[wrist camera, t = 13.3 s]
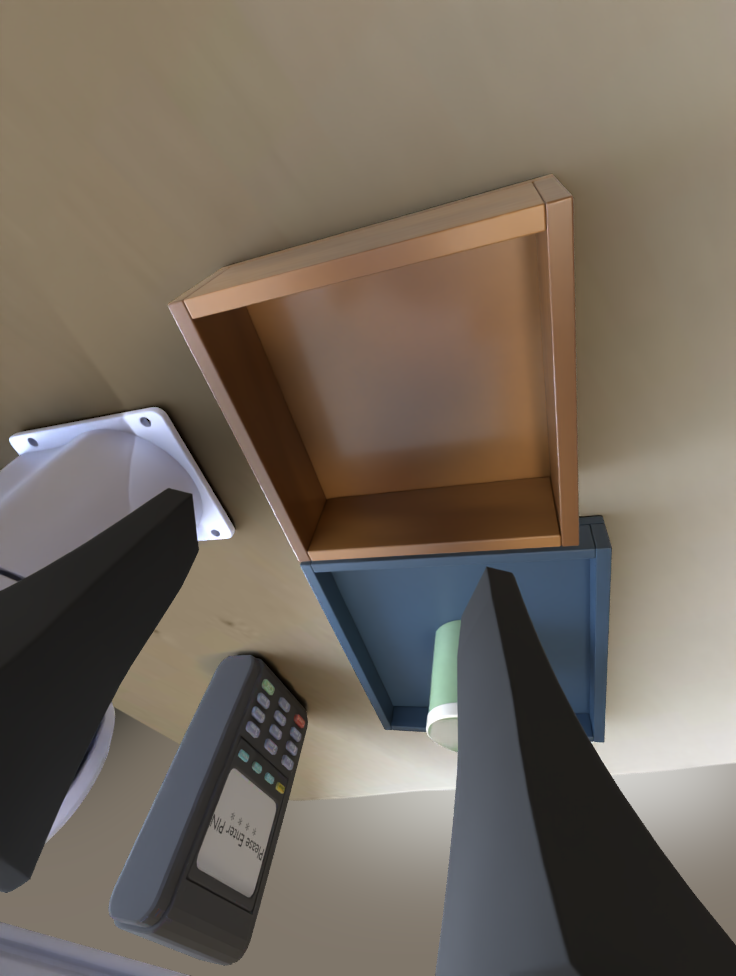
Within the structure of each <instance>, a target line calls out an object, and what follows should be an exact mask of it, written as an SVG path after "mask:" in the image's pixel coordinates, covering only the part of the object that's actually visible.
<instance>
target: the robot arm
mask: <svg viewBox="0 0 736 976" xmlns="http://www.w3.org/2000/svg"><path fill="white" fill-rule="evenodd" d="M145 417H146V418H148V419H149V420H150V421H151V422H149V421H147V419H146V418H145ZM9 441H10V444H11V445H12V447H13V448H14V449H15V450H16V451H17V452H18V454H19V455H20V456H18V457H17V458H16V459H14V460H13V461H12V462H11V463H9V464H8V465H7V466H5V467H4V468H3V469H2V470H0V891H1V892H5V893H8V892H10V891H13V890H14V889H16V888H18V887H19V886H21V885H22V884H24V883H25V882H27V881H28V880H29V879H30V878H31V876H32V873H33V871H34V868H35V865H36V863H37V861H38V858H39V856H40V854H41V851H42V849H43V847H44V844H45V843H46V842H47V841H48V840H49V839H50V838H51V837H52V836H54V834H56V833H57V832H58V830H59V829H60V828H61V827H62V826H63V825H64V824H65V823H66V822H67V821H68V819H69V818H70V817H71V816H72V815H73V813H74V812H75V811H76V810H77V808H78V807H79V805H80V804H81V803H82V801H83V800H84V798H85V797H86V795H87V794H88V792H89V791H90V789H91V787H92V786H93V784H94V782H95V781H96V779H97V777H98V775H99V773H100V771H101V769H102V767H103V764H104V762H105V759H106V757H107V754H108V751H109V747H110V743H111V738H112V734H113V731H114V723H115V710H114V706H113V704H112V702H111V701H112V699H113V697H114V695H115V694H116V692H117V690H118V688H119V686H120V684H121V682H122V680H123V679H124V677H125V675H126V674H127V672H128V670H129V669H130V667H131V665H132V664H133V662H134V661H135V659H136V657H137V656H138V654H139V653H140V651H141V650H142V648H143V647H144V645H145V643H146V642H147V640H148V639H149V637H150V636H151V634H152V633H153V631H154V629H155V628H156V626H157V625H158V623H159V622H160V620H161V619H162V617H163V615H164V614H165V612H166V611H167V609H168V608H169V606H170V604H171V603H172V601H173V600H174V598H175V597H176V595H177V593H178V592H179V590H180V588H181V587H182V585H183V583H184V581H185V579H186V577H187V575H188V573H189V571H190V568H191V566H192V564H193V562H194V560H195V558H196V555H197V553H198V551H199V547H198V541H201V540H213V539H226V538H231V537H232V536H233V534H234V532H235V528H234V526H233V524H232V523H231V521H230V519H229V518H228V516H227V514H226V513H225V511H224V509H223V508H222V506H221V504H220V502H219V501H218V499H217V497H216V496H215V494H214V492H213V491H212V489H211V487H210V486H209V484H208V482H207V481H206V479H205V477H204V476H203V474H202V472H201V470H200V469H199V467H198V465H197V464H196V462H195V460H194V459H193V457H192V455H191V454H190V452H189V450H188V449H187V447H186V445H185V443H184V442H183V440H182V438H181V437H180V435H179V433H178V432H177V430H176V428H175V427H174V425H173V423H172V422H171V420H170V418H169V417H168V415H167V414H166V412H165V411H163V410H162V409H160V408H158V407H150V408H145V409H140V410H135V411H129V412H124V413H119V414H113V415H108V416H103V417H97V418H92V419H87V420H82V421H76V422H71V423H66V424H60V425H55V426H50V427H44V428H39V429H34V430H29V431H23V432H18V433H15V434H14V435H12V436H11V437H10V438H9ZM457 711H458V764H457V781H456V794H455V807H454V817H453V828H452V838H451V848H450V859H449V868H448V877H447V886H446V894H445V903H444V913H443V920H442V928H441V936H440V943H439V951H438V959H437V966H436V974H435V976H736V945H735V944H734V942H733V941H732V940H731V939H730V938H729V936H728V935H727V934H726V933H725V931H724V930H723V929H722V928H721V926H720V925H719V924H718V923H717V922H716V920H715V919H714V918H713V916H712V915H711V914H710V913H709V912H708V910H707V909H706V908H705V907H704V905H703V904H702V903H701V902H700V900H699V899H698V898H697V897H696V896H695V894H694V893H693V892H692V890H691V889H690V888H689V886H688V885H687V884H686V882H685V881H684V880H683V878H682V877H681V876H680V874H679V873H678V872H677V870H676V869H675V868H674V867H673V865H672V863H671V862H670V861H669V859H668V858H667V857H666V856H665V854H664V853H663V851H662V850H661V849H660V847H659V846H658V845H657V843H656V841H655V840H654V839H653V837H652V836H651V834H650V833H649V831H648V830H647V829H646V827H645V825H644V824H643V823H642V821H641V820H640V818H639V817H638V815H637V814H636V812H635V811H634V810H633V808H632V807H631V805H630V804H629V802H628V801H627V799H626V798H625V796H624V795H623V793H622V792H621V791H620V789H619V787H618V786H617V784H616V783H615V781H614V779H613V778H612V776H611V775H610V773H609V771H608V770H607V768H606V767H605V765H604V763H603V762H602V760H601V759H600V757H599V755H598V753H597V752H596V750H595V748H594V747H593V745H592V743H591V742H590V740H589V738H588V736H587V735H586V733H585V731H584V729H583V728H582V726H581V724H580V722H579V720H578V718H577V717H576V715H575V713H574V711H573V709H572V707H571V705H570V703H569V701H568V699H567V697H566V695H565V693H564V692H563V690H562V688H561V686H560V684H559V681H558V679H557V677H556V675H555V673H554V671H553V669H552V667H551V665H550V662H549V660H548V658H547V656H546V653H545V651H544V649H543V647H542V645H541V642H540V640H539V638H538V635H537V633H536V631H535V628H534V626H533V623H532V621H531V618H530V616H529V613H528V611H527V608H526V606H525V603H524V600H523V598H522V595H521V592H520V590H519V587H518V584H517V581H516V579H515V576H514V575H513V573H511V572H507V571H503V570H499V569H495V568H491V567H486V569H485V571H484V573H483V575H482V577H481V579H480V581H479V583H478V585H477V587H476V589H475V591H474V592H473V594H472V596H471V598H470V600H469V602H468V604H467V606H466V608H465V610H464V612H463V614H462V617H461V626H460V634H459V644H458V654H457ZM0 976H190V975H187V974H183V973H179V972H176V971H172V970H169V969H165V968H162V967H158V966H155V965H151V964H148V963H144V962H140V961H137V960H133V959H130V958H126V957H122V956H119V955H116V954H112V953H109V952H105V951H102V950H98V949H95V948H91V947H87V946H84V945H80V944H77V943H73V942H69V941H66V940H63V939H59V938H56V937H52V936H48V935H45V934H41V933H38V932H34V931H31V930H27V929H24V928H20V927H17V926H13V925H10V924H6V923H2V922H0Z"/></svg>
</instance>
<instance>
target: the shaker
mask: <svg viewBox="0 0 736 976" xmlns="http://www.w3.org/2000/svg"><path fill="white" fill-rule="evenodd" d="M460 626H461V620H455V621H451V622H448V623H446V624H444V625H442V626H441V627H440V628H438V630H437V631H436V633H435V638H434V650H433V662H432V674H431V686H430V698H429V710H428V715H427V722H426V732H427V734H428V736H429V738H430V739H431V740H432V741H434V742H435V743H436V744H438V745H440V746H442V747H444V748H446V749H449V750H452V751H455V752H458V711H457V654H458V644H459V634H460Z"/></svg>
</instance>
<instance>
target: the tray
mask: <svg viewBox="0 0 736 976" xmlns="http://www.w3.org/2000/svg"><path fill="white" fill-rule="evenodd" d="M611 557H612V547H611V543H610V540H609V537H608V533H607V530H606V526H605V523H604V520H603V517H602V516H595V517H582V518H579V545H578V546H562V545H561V546H558V547H541V548H524V549H507V550H490V551H473V552H456V553H439V554H422V555H405V556H388V557H371V558H354V559H337V560H320V561H312V560H311V561H303V562H301V564H300V566H301V568H302V570H303V572H304V574H305V576H306V578H307V580H308V582H309V584H310V586H311V588H312V590H313V592H314V594H315V595H316V597H317V599H318V601H319V603H320V605H321V607H322V609H323V611H324V613H325V615H326V617H327V619H328V621H329V623H330V625H331V626H332V628H333V630H334V632H335V634H336V636H337V638H338V640H339V642H340V644H341V646H342V648H343V650H344V652H345V654H346V656H347V657H348V659H349V661H350V663H351V665H352V667H353V669H354V671H355V673H356V675H357V677H358V679H359V681H360V683H361V685H362V687H363V688H364V690H365V692H366V694H367V696H368V698H369V700H370V702H371V704H372V706H373V708H374V710H375V712H376V714H377V716H378V717H379V719H380V721H381V723H382V725H383V727H384V729H385V730H392V729H393V730H400V731H417V732H426V722H427V715H428V710H429V698H430V686H431V674H432V662H433V650H434V638H435V633H436V631H437V630H438V628H440V627H441V626H442V625H444V624H446V623H448V622H451V621H455V620H461V617H462V614H463V612H464V610H465V608H466V606H467V604H468V602H469V600H470V598H471V596H472V594H473V592H474V591H475V589H476V587H477V585H478V583H479V581H480V579H481V577H482V575H483V573H484V571H485V569H486V567H491V568H495V569H499V570H503V571H507V572H511V573H513V575H514V576H515V579H516V581H517V584H518V587H519V590H520V592H521V595H522V598H523V600H524V603H525V606H526V608H527V611H528V613H529V616H530V618H531V621H532V623H533V626H534V628H535V631H536V633H537V635H538V638H539V640H540V642H541V645H542V647H543V649H544V651H545V653H546V656H547V658H548V660H549V662H550V665H551V667H552V669H553V671H554V673H555V675H556V677H557V679H558V681H559V684H560V686H561V688H562V690H563V692H564V693H565V695H566V697H567V699H568V701H569V703H570V705H571V707H572V709H573V711H574V713H575V715H576V717H577V718H578V720H579V722H580V724H581V726H582V728H583V729H584V731H585V733H586V735H587V736H588V738H589V740H590V741H591V742H593V741H594V742H604V736H605V710H606V685H607V659H608V634H609V608H610V582H611Z"/></svg>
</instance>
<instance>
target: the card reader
mask: <svg viewBox="0 0 736 976" xmlns="http://www.w3.org/2000/svg"><path fill="white" fill-rule="evenodd" d="M307 725H308V720H307V713H306V710H305V708H304V707H303V706H302V705H301V704H300V703H299V702H298V700H297V699H296V698H295V697H294V696H293V695H292V694H291V693H290V691H289V690H288V689H287V688H286V687H285V686H284V685H283V683H282V682H281V681H280V680H279V679H278V678H277V677H276V676H275V674H274V673H273V672H272V671H271V670H270V669H269V668H268V666H267V665H266V664H265V663H264V662H263V661H262V660H261V659H258V658H255V657H254V656H252V655H238V656H229V657H227V658H226V659H224V660H223V661H222V662H221V663H220V664H219V666H218V668H217V669H216V671H215V673H214V675H213V677H212V680H211V682H210V684H209V686H208V688H207V690H206V692H205V694H204V696H203V698H202V700H201V702H200V704H199V706H198V709H197V711H196V713H195V715H194V717H193V719H192V721H191V723H190V725H189V727H188V729H187V731H186V733H185V736H184V738H183V740H182V742H181V744H180V746H179V749H178V751H177V753H176V755H175V757H174V759H173V762H172V764H171V766H170V768H169V770H168V772H167V774H166V777H165V779H164V781H163V783H162V785H161V788H160V790H159V792H158V794H157V796H156V798H155V801H154V803H153V805H152V807H151V809H150V811H149V813H148V816H147V818H146V820H145V822H144V824H143V826H142V828H141V831H140V833H139V835H138V837H137V839H136V841H135V844H134V846H133V848H132V850H131V852H130V854H129V857H128V859H127V861H126V863H125V865H124V868H123V870H122V872H121V874H120V876H119V878H118V881H117V883H116V885H115V887H114V890H113V892H112V895H111V898H110V903H109V915H110V917H112V918H113V919H114V923H115V925H116V926H117V927H118V928H120V929H122V930H125V931H127V932H130V933H133V934H135V935H138V936H140V937H143V938H145V939H148V940H150V941H153V942H155V943H158V944H161V945H163V946H166V947H168V948H171V949H173V950H176V951H178V952H181V953H184V954H186V955H189V956H191V957H194V958H196V959H199V960H203V961H207V962H212V963H216V964H220V965H224V966H225V965H231V964H232V963H235V962H237V961H238V960H240V959H241V958H242V956H243V955H244V953H245V952H246V950H247V948H248V945H249V943H250V940H251V937H252V933H253V929H254V926H255V922H256V918H257V915H258V911H259V907H260V904H261V899H262V896H263V892H264V889H265V885H266V881H267V877H268V874H269V870H270V866H271V862H272V859H273V855H274V852H275V848H276V844H277V840H278V837H279V833H280V829H281V825H282V822H283V818H284V814H285V811H286V807H287V803H288V800H289V796H290V792H291V788H292V785H293V781H294V777H295V773H296V769H297V765H298V761H299V757H300V753H301V749H302V745H303V742H304V738H305V734H306V730H307Z"/></svg>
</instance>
